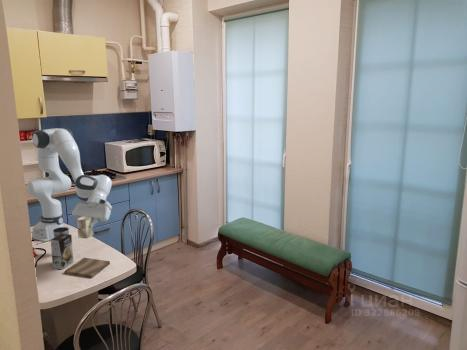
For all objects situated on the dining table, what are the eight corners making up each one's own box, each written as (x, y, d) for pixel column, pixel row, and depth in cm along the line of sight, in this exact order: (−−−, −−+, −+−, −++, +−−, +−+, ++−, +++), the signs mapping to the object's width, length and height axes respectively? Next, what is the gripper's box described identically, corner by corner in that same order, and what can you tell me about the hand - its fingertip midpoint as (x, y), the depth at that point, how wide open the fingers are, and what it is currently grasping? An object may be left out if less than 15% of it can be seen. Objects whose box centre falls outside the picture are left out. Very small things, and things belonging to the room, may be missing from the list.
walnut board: (64, 273, 185) (64, 270, 185) (84, 260, 200) (84, 257, 200) (92, 278, 181) (92, 275, 181) (109, 263, 197) (109, 261, 196)
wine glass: (73, 252, 209) (71, 227, 206) (64, 258, 202) (62, 232, 199) (61, 250, 211) (59, 226, 208) (52, 256, 204) (49, 231, 200)
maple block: (78, 237, 185) (77, 219, 183) (84, 234, 190) (83, 216, 187) (87, 238, 184) (85, 220, 182) (92, 235, 188) (91, 217, 186)
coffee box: (63, 269, 189) (60, 240, 186) (52, 268, 190) (49, 239, 187) (74, 261, 198) (71, 234, 194) (63, 260, 199) (61, 233, 195)
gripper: (75, 198, 193) (64, 221, 186) (109, 201, 188) (99, 225, 181) (81, 203, 198) (71, 226, 191) (115, 207, 193) (105, 231, 186)
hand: (85, 226), depth 186 cm, fingers closed on maple block, 5 cm apart
